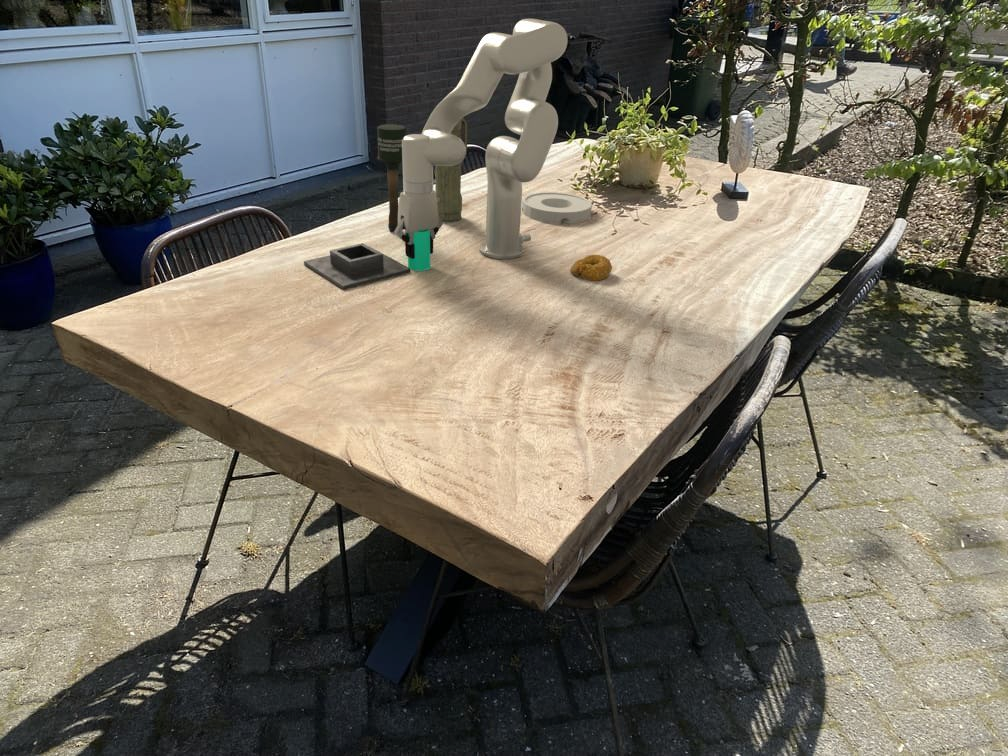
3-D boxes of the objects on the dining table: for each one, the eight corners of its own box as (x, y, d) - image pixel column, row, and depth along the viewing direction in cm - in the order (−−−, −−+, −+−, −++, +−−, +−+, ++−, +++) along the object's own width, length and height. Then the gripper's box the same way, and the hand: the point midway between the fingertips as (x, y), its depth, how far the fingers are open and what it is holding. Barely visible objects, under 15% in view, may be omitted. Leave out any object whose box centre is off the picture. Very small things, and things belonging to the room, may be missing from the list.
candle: (426, 271, 185) (426, 227, 179) (405, 269, 186) (403, 225, 180) (433, 263, 190) (432, 220, 184) (412, 261, 191) (411, 218, 185)
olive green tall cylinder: (471, 219, 225) (474, 103, 207) (438, 224, 219) (439, 105, 201) (456, 211, 231) (458, 98, 213) (425, 216, 225) (424, 100, 207)
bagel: (569, 266, 194) (570, 250, 191) (608, 269, 194) (611, 252, 191) (570, 280, 185) (572, 263, 183) (612, 283, 185) (614, 266, 183)
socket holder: (369, 249, 197) (368, 234, 195) (410, 272, 184) (410, 256, 182) (304, 264, 185) (302, 248, 183) (343, 289, 173) (342, 272, 170)
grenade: (374, 232, 210) (370, 127, 195) (389, 224, 217) (386, 122, 202) (399, 237, 207) (396, 131, 192) (413, 228, 214) (412, 126, 199)
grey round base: (545, 199, 250) (546, 188, 248) (603, 213, 238) (604, 201, 236) (507, 213, 233) (508, 201, 231) (567, 229, 222) (568, 217, 220)
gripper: (436, 178, 185) (437, 244, 194) (381, 188, 175) (384, 257, 184) (454, 184, 180) (453, 252, 189) (398, 195, 170) (400, 266, 179)
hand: (419, 254), depth 186 cm, fingers closed on candle, 5 cm apart
